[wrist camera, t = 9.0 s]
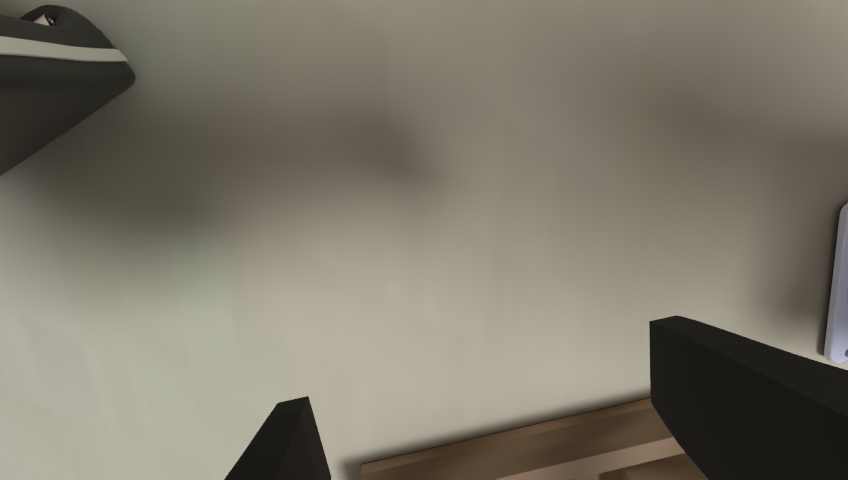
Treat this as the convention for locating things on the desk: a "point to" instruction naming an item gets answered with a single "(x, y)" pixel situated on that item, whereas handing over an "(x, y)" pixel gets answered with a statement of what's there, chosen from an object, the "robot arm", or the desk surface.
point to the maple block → (665, 469)
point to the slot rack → (544, 450)
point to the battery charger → (52, 78)
